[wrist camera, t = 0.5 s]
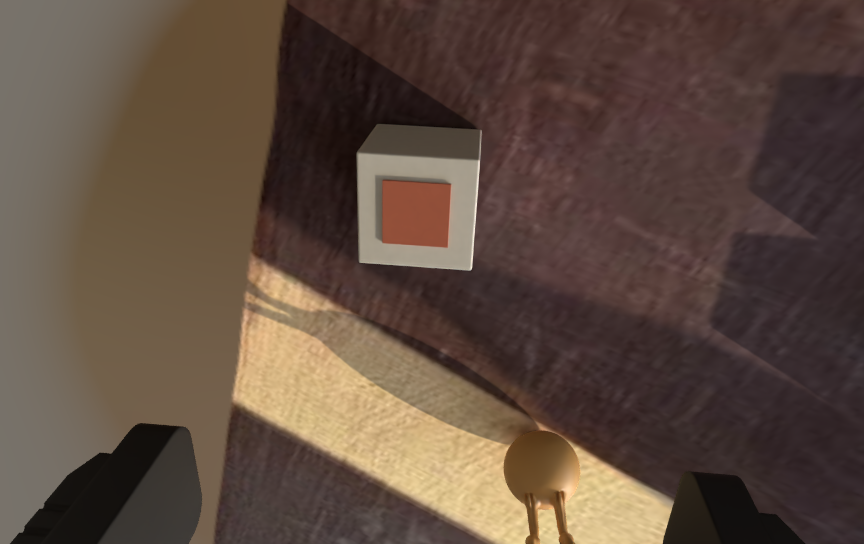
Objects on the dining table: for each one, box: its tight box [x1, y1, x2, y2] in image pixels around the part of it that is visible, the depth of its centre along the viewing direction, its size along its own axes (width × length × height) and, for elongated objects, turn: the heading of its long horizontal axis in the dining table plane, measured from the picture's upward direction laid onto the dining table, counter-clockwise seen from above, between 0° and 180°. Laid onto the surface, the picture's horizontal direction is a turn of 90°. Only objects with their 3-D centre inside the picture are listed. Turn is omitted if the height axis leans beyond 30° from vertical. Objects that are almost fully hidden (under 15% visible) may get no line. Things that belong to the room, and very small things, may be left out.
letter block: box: [356, 124, 481, 270], centre depth 25 cm, size 5×5×5 cm
